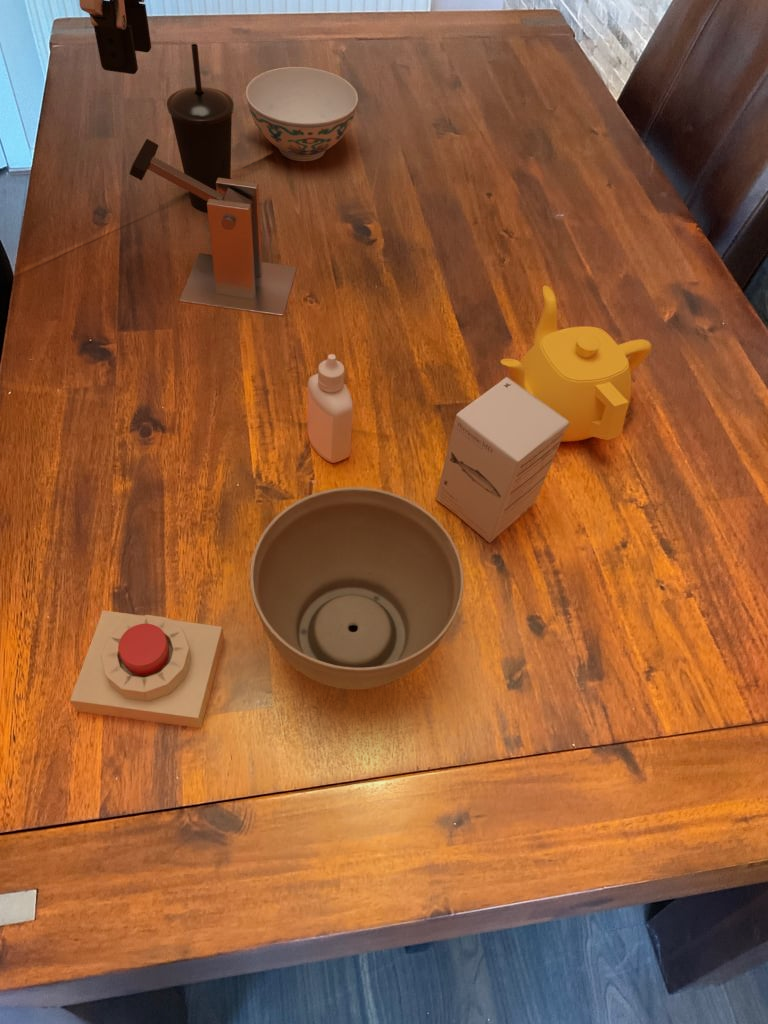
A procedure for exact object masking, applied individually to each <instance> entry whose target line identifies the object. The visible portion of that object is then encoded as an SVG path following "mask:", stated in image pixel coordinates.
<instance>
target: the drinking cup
mask: <svg viewBox="0 0 768 1024" xmlns="http://www.w3.org/2000/svg"><path fill="white" fill-rule="evenodd" d="M190 45H191V55H192V64H193V65H192V66H193V75H194V84H195V85H194V86H192V87H185V88H182V89H179V90H177V91H175V92H173V93H172V94H170V96H169V97H168V98H167V100H166V109H167V112H168V114H169V115H170V118H171V122H172V126H173V130H174V134H175V139H176V143H177V148H178V152H179V158H180V161H181V165H182V170H183V173H184V174H186V175H188V176H190V177H192V178H193V179H195V180H197V181H199V182H201V183H203V184H204V185H206V186H208V187H210V188H212V189H214V190H215V191H217V189H216V181H217V179H218V178H225V179H231V177H232V176H231V175H232V173H231V171H232V122H233V121H232V119H233V118H232V117H233V116H232V115H233V113H234V110H235V103H234V101H233V99H232V97H231V96H230V95H229V94H227V93H226V92H224V91H222V90H219V89H217V88H213V87H207V86H202V76H201V75H202V74H201V67H200V56H199V46H198V44H196V43H192V44H190ZM187 192H188V196H189V201H190V204H191V206H192V207H193V208H194V209H195V210H197V211H199V212H201V213H206V214H208V210H207V202H208V201H206V200H204V199H202V198H200V197H198V196H197V195H195V194H193V193H191V192H189V191H187Z"/></svg>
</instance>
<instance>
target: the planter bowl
mask: <svg viewBox="0 0 768 1024" xmlns="http://www.w3.org/2000/svg"><path fill="white" fill-rule="evenodd" d="M251 557H252V558H251V560H250V561H251V562H250V567H249V587H250V594H251V597H252V601H253V605H254V608H255V611H256V613H257V615H258V618H259V620H260V622H261V625H262V627H263V629H264V631H265V633H266V635H267V637H268V639H269V641H270V642H271V644H272V645H273V647H274V649H276V651H277V652H278V654H279V655H280V657H282V658H283V659H284V660H285V661H286V662H287V663H288V664H289V665H290V666H291V667H293V668H294V669H295V670H296V671H298V672H299V673H301V674H302V675H304V676H306V677H307V678H309V679H311V680H312V681H315V682H317V683H320V684H322V685H325V686H329V687H332V688H337V689H342V690H343V689H344V690H367V689H374V688H379V687H382V686H385V685H388V684H391V683H393V682H395V681H397V680H399V679H401V678H403V677H405V676H407V675H408V674H410V673H411V672H413V671H414V670H416V669H417V668H418V667H420V666H421V665H422V664H423V663H424V662H425V661H426V660H427V659H428V658H429V657H430V656H431V654H432V653H433V652H434V651H435V650H436V649H437V647H438V646H439V644H441V641H442V640H443V638H444V637H445V635H446V633H447V632H448V631H449V629H450V628H451V627H452V624H453V623H454V621H455V619H456V616H457V614H458V612H459V609H460V606H461V603H462V598H463V594H464V584H465V583H464V569H463V565H462V561H461V557H460V554H459V551H458V548H457V546H456V544H455V542H454V541H453V539H452V537H451V535H450V534H449V533H448V531H447V530H446V529H445V527H444V526H443V524H442V523H441V522H440V521H439V520H438V519H437V518H436V517H434V515H432V514H431V513H430V512H429V511H428V510H426V509H425V508H424V507H422V506H421V505H419V504H417V503H416V502H414V501H412V500H411V499H408V498H406V497H404V496H402V495H399V494H396V493H393V492H390V491H386V490H383V489H378V488H373V487H363V486H362V487H361V486H345V487H336V488H331V489H326V490H322V491H318V492H315V493H312V494H310V495H307V496H304V497H302V498H301V499H298V500H296V501H294V502H293V503H291V504H290V505H288V506H287V507H285V508H284V509H282V510H281V511H280V512H279V513H278V514H277V515H276V516H275V517H274V518H273V519H272V520H271V521H270V522H269V523H268V525H267V526H266V527H265V529H264V530H263V532H262V533H261V535H260V536H259V538H258V540H257V543H256V545H255V548H254V550H253V553H252V556H251ZM351 626H355V627H357V629H356V631H351V630H350V628H349V627H351Z"/></svg>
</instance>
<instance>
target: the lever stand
mask: <svg viewBox="0 0 768 1024" xmlns="http://www.w3.org/2000/svg"><path fill="white" fill-rule="evenodd" d="M259 187H260V186H259V182H254V181H247V180H238V179H225V178H218V179H217V181H216V189H217V192H219V193H221V194H223V195H224V196H225V193H226V191H227V189H228V188H230V189H232V190H233V191H235V192H237V193H239V194H241V195H242V196H244V197H246V198H248V199H250V200H252V203H251V204H245V203H238V202H231V201H224V200H216V199H209V200H208V202H207V210H208V213H207V220H208V229H209V237H210V239H209V240H210V247H211V254H209V253H202V252H198V253H197V256H196V259H195V261H194V264H193V266H192V268H191V270H190V273H189V276H188V278H187V280H186V283H185V286H184V288H183V290H182V293H181V295H180V297H179V300H178V302H179V303H182V304H183V303H184V304H189V305H190V304H191V305H197V306H205V307H210V308H211V307H212V308H219V309H225V310H233V311H239V312H240V311H241V312H247V313H253V314H254V313H255V314H260V315H261V314H262V315H268V316H275V317H284V316H285V313H286V309H287V305H288V303H289V299H290V295H291V291H292V289H293V284H294V281H295V277H296V274H297V270H298V267H297V265H296V266H294V265H289V264H281V263H273V262H266V261H263V256H262V233H261V229H262V228H261V211H260V190H259Z"/></svg>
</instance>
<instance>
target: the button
mask: <svg viewBox="0 0 768 1024" xmlns="http://www.w3.org/2000/svg"><path fill="white" fill-rule="evenodd" d="M118 650H119V654H120V656H121V659H122V661H123V664H124V666H125V667H126V668H127V669H128V670H129V671H130V672H132V673H134V674H137V675H149V674H152V673H155V672H157V671H158V670H160V669H161V668H162V667H163V666H164V665H165V663H166V662H167V660H168V657H169V646H168V642H167V639H166V636H165V634H164V632H163V631H162V630H161V629H160V628H159V627H157V626H155V625H152V624H139V625H136V626H133V627H131V628H130V629H128V630H127V631H126V632H125V633H124V634H123V635H122V637H121V639H120V641H119V646H118Z"/></svg>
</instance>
